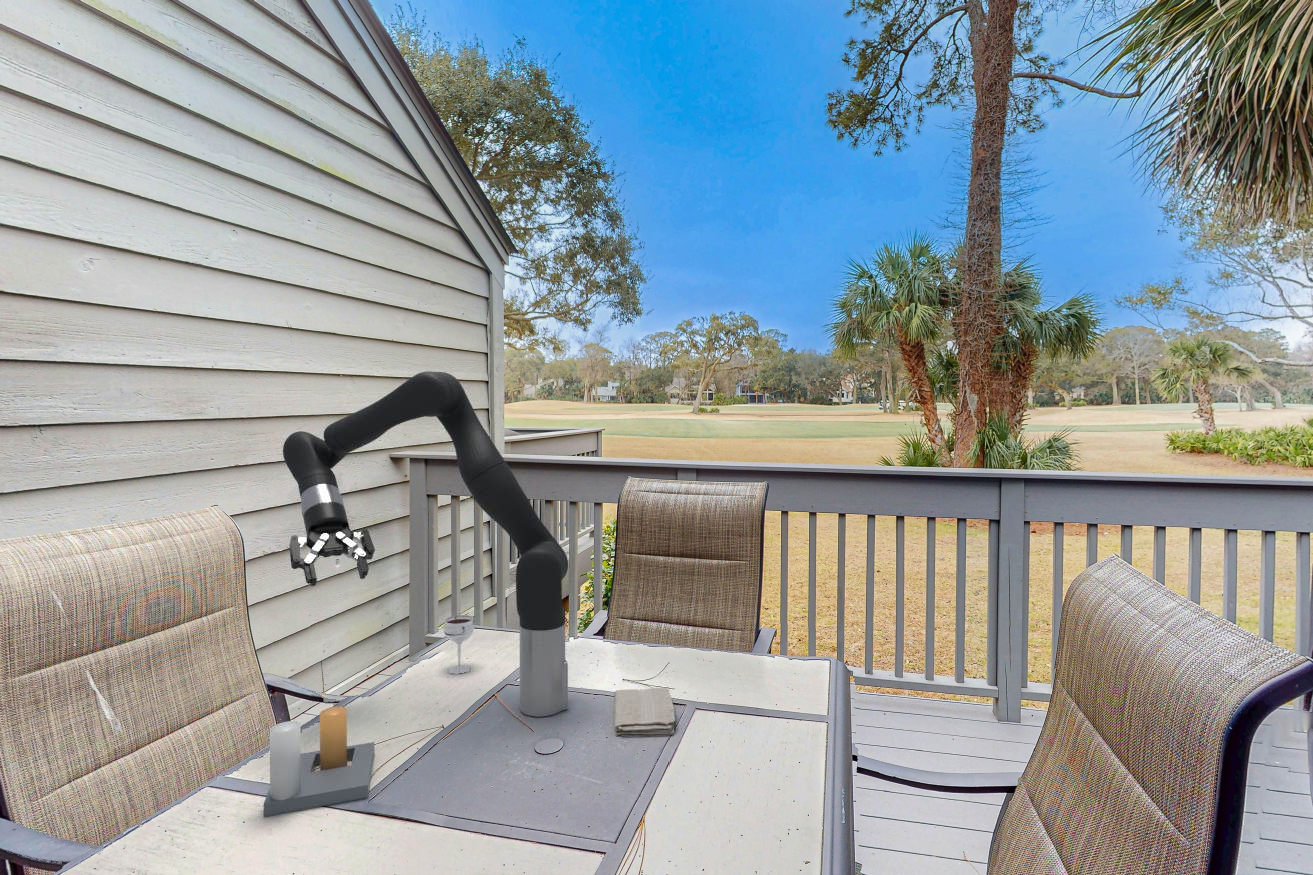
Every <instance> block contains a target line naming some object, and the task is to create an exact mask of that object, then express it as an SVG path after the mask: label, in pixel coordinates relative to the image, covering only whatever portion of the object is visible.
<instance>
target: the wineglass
mask: <svg viewBox="0 0 1313 875" xmlns="http://www.w3.org/2000/svg"><path fill="white" fill-rule="evenodd" d="M473 621H474V617H473V616H472V615H468V614H466V615H464V614H463V615H461V614H460V615H452V616H450V617H446V618H445V619H444V623H445V625H444V628H443V632H444V635H445V637H446V638H447V639H448V640H450V641H451V642H454V643H455V644H456V645H457V660H458V662H457V663H458V666H454V667H452V669H451V668H450V669H448V671H449V672H450V673H455V674H454V675H460V674H459V673H463V674H465V673H464V672H466V673H468V672H469V671H468V670H469V668H470V667H469V666H467V667H465V665H461V657H462V656H461V655H462V653H461V652H462V643H464V641H467V640H468V639H469V638H470V637H471V636H472V635H473V633H474V630H475V625H474V623H473ZM468 667H469V668H468ZM467 671H468V672H467ZM449 672H448V673H449ZM450 673H449V674H450Z"/></svg>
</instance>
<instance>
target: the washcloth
mask: <svg viewBox="0 0 1313 875" xmlns="http://www.w3.org/2000/svg"><path fill="white" fill-rule="evenodd" d="M613 697H614V717H613V718H614V723H613V726H614V736H615V737H620V736H622V737H627V738H633V737H635V738H640V737H663V736H664V737H665V736H671V735H674V734H675V724H674V723H676V717H675V707H674V703H673V698H672V695H671V692H670V689H669V687H651V688H647V689H646V688H643V689H638V688H637V689H635V688H633V689H628V688H627V689H619V690H618V689H616V690H615V691H614V695H613Z"/></svg>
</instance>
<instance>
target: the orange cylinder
mask: <svg viewBox="0 0 1313 875" xmlns="http://www.w3.org/2000/svg"><path fill="white" fill-rule="evenodd" d="M347 710H348V709H347V707H345V706H341V705H339V706H330V707H327V708H325V709H323V710H322V711H320V712H319V751H320V765H319V771H321V770H327V769H333V768H339V767H345V766H348V760H347V746H348V726H347V725H348V724H347V719H348V717H347V716H348V715H347V713H348V712H347Z"/></svg>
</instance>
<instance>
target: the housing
mask: <svg viewBox="0 0 1313 875" xmlns="http://www.w3.org/2000/svg"><path fill="white" fill-rule="evenodd" d="M301 750H302V749H301V722H299V721H295V720H289V721H283V722H281V723H277V724H275V725H273V726H271V728H270V729H269V776H270V777H269V783H270V784H269V789H268V791H267V794H266V796H265V800H264V802H263V818H265V817H270V816H276V815H281V814H282V815H283V814H286V813H293V812H297V811H302V810H303V811H304V810H307V809H313V808H319V807H323V806H330V805H336V804H341V803H348V802H353V801H357V800H362V799H368V798H369V792H370V786H371V779H372V772H373V766H374V765H373V764H374V758H375V742H374V741H372V742H367V743H360V744H354V745H347V761H351V764H350V765H347V766H345V767H339V768H333V769H327V770H321V771H320V770H316V766H320V750H314V751H309V752H308V751H307V752H302V751H301ZM301 752H302V753H301Z"/></svg>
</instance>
